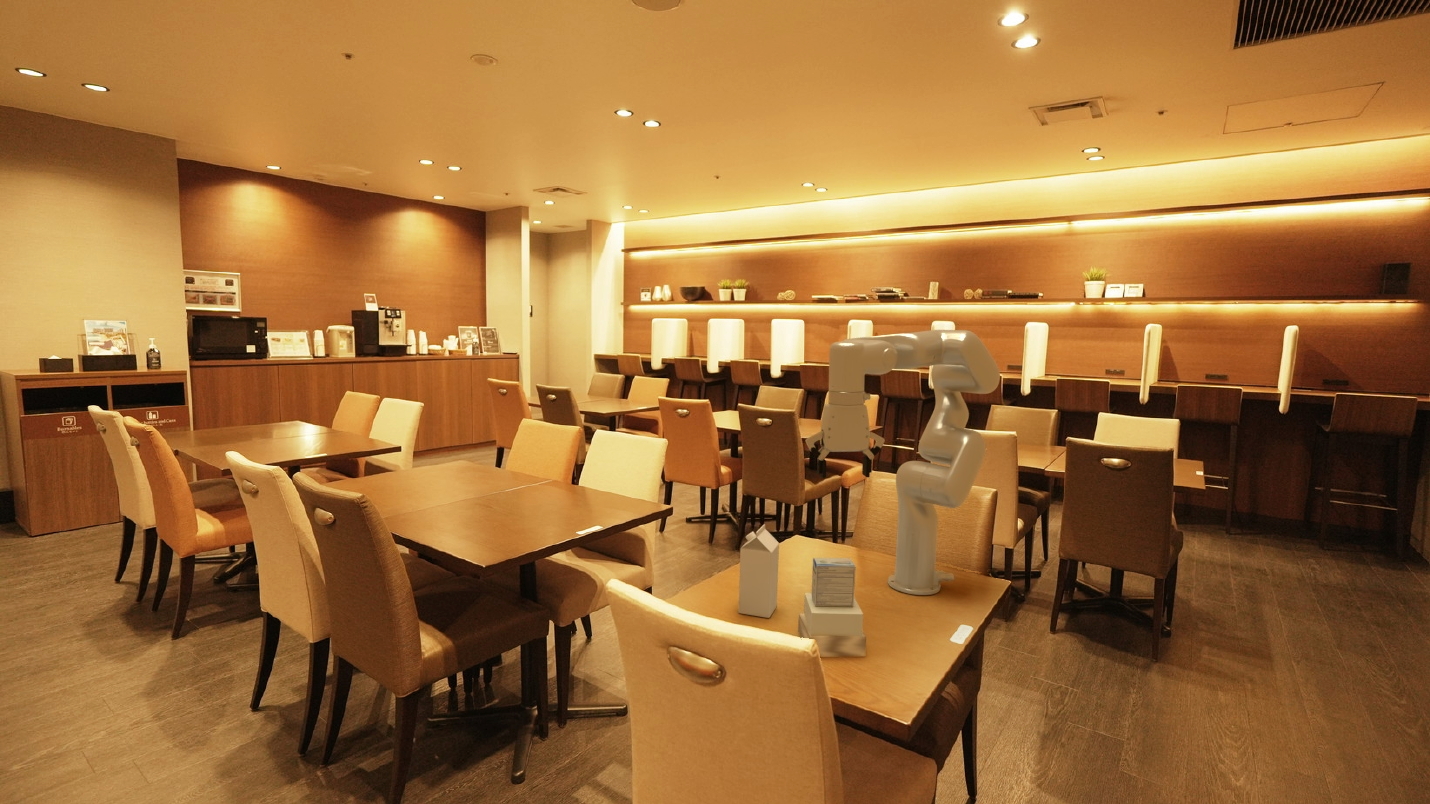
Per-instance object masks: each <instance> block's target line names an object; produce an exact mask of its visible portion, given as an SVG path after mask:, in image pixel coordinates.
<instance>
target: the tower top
mask: <svg viewBox="0 0 1430 804" xmlns="http://www.w3.org/2000/svg"><path fill="white" fill-rule="evenodd" d="M803 601H804V603H803V613H804V616H805V619H806V622H807V625H808V628H809V631H810V634H811V635H821V636H862V631H863V627H864V622H863V621H864V613H863V611H862V609H861V607H860V605H859V603H858V602H857V599H856V597H854V606H815V605H814V602H813V599H812V592H804V600H803Z"/></svg>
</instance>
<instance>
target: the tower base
mask: <svg viewBox="0 0 1430 804" xmlns="http://www.w3.org/2000/svg"><path fill="white" fill-rule="evenodd" d="M797 623H798V625H797V633H798V632H799V633H798V635H799V637H800V638H801V637H803V638H809V639H815V640H816V642H817V645H818V647H819V653H820V656H821V657H820V658H835V657H837V658H838V657H839V658H840V657H843V658H844V657H866V646H867V645H866V642H867V635H866V634H865V632H864V631H863V630H862V636H821V635H811V634H810V631H809V628H808V625H807V622H806V619H805V616H804V612H803V613H802V612H800V613H798V622H797Z"/></svg>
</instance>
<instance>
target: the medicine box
mask: <svg viewBox="0 0 1430 804" xmlns="http://www.w3.org/2000/svg"><path fill="white" fill-rule="evenodd" d="M856 569H857V566H856V565H855V563H854V561H853V560H852V559H851V558H850V557H849V558H848V557H846V558H845V557H813V558H812V575H811V593H812V599H813V602H814V605H815V606H854V598H855V588H856V587H855V586H856Z"/></svg>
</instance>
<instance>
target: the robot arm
mask: <svg viewBox="0 0 1430 804" xmlns="http://www.w3.org/2000/svg"><path fill="white" fill-rule="evenodd" d="M828 354H829V356H828V357H829V361H828V362H829V363H828V400H827V401H828V404H827V403H826V404H824V405H823V410H822V416H821V424H820V431H818V432H816V433H815V434H813V435H811V436H809V437H806V439H804V440H805V441H804V442H805V443H806V445H807V448H808V449H809V451H810V452H811V453H812V454H813V455H814V456H815V457H816V458H817V459H816V460H817V461H816V462H817V464H816V465H817V468H816V469H817V471H816V472H817V474H818V475H819V476H820V478H821V479H826V478H827V460H826V459H825V458H826V457H827V456H828V455H829V453H830V452H833V453H835V452H837V453H841V452H843V453H845V452H847V453H849V452H862V454H864V456H863V457H862V462H861V463H862V465H861V467H862V468H861V469H862V471H861V472H862V473H861V474H862V475H863V476H864V477H865V478H870V474H871V473H872V471H873V460H874V459H875V456H877V454H878V453H879V452H881V448H882V447H883V446H884V443H885V438H884V437H882V436H880V435H878V434H876V433H874V432H872V431H871V430H870V418H869V412H868V407H867V405H866V404H865V403H866V401H869V400H871V393H867V392H866V391H865V375H866V374H867V375H868V374H869V375H879V376H880V375H885V374H888V373H890V372H891V371H892V370H914V369H919V368H924V367H931V366H932V368H931V371H930V372H931V374H930V375H931V378H930V379H931V382H932V387H933V391H934V395H935V396H934V397H935V405H934V410H933V412H932V414H931V416H930V419H929V420H928V423H927V424H926V427H925V429H924V431H923V433H922V435H921V436H920V440H919V443H918V446H917V448H918V453H919V455H920V456H921V458H923V459H924V460H926V461H922V460H921V461H919V460H910V461H906V462H904V463H902V464H901V465H900V466H899V467H898V470H897V472H896V475H895V484H896V486H895V487H896V493H897V504H898V506H897V507H898V513H897V515H898V516H897V530H896V531H897V532H896V547H895V549H896V550H895V566H894V573H893V574H891V575H889V576H888V577H887V583H888V585H889V586H890V587H891V588H892V589H894V590H896V591H898V592H901V593H905V594H909V595H915V596H916V595H917V596H929V595H935V594H937V593H938V592H940V590H941V583H942V582H944V581H945V582H954V580H955V574H954V573H953V572H951V573H950V572H945V570H938V569H936V561H937V560H936V557H937V545H938V544H937V542H938V528H939V518H938V513H937V510H936V507H935V506H939V507H944V508H947V509H957V508H959V507H961V506H962V505H963V504H964V503H965V502H966V500H967V498H968V497H969V494H970V492H971V489H972V488H973V486H974V483H975V481H976V478H977V477H978V474H979V472H980V469H981V468H982V465H983V463H984V459H985V456H986V452H987V450H986V448H987V447H986V441H985V439H984V437H983V435H982V434H981V433H980V432H978V431H976V430H973V429H970V428H969V429H968V428H966V425H967V423H968V420H969V416H970V413H969V409H968V406H967V403H966V402H965V399H964V398H963V396H962V393H967V394H968V393H969V394H978V395H986V394H990V393H993V392H994V391H995V390H996V389H997V388H998V386H999V384H1000V380H1001V374H1000V368H999V366H998V364H997V362H996V360H995V358H994V357H993V356H992V354H991V352H990V351H989V350H988V348H987V346H986V345H985V344H984V341H982V340H981V339H980V337H979V336H978V335H977V334H976V333H974V332H972V330H971V331H970V330H967V329H932V330H931V329H930V330H923V331H914V332H905V333H894V334H893V333H892V334H886V335H885V334H884V335H876V336H873V335H871V336H861V337H853V338H846V339H844V340H842V341H834V342H832V343H831V344H830V346H829V353H828ZM871 439H872V440H874V441H875V443H874V445H873V446H872V447H871V448H870V444H871V441H870V440H871ZM818 441H819V443H820V446H821V448H819V450H818V449H817V447H816V446H815V443H816V442H818ZM927 461H929V462H927ZM931 462H933V463H931ZM941 464H942V465H941Z"/></svg>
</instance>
